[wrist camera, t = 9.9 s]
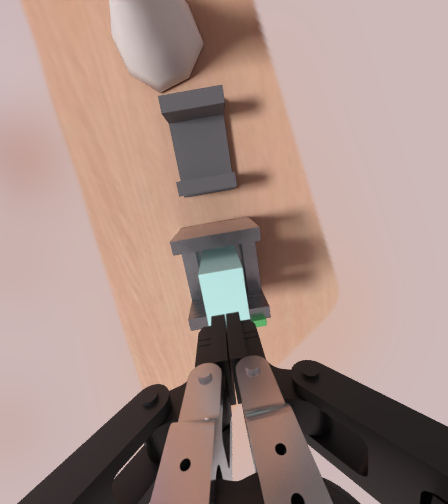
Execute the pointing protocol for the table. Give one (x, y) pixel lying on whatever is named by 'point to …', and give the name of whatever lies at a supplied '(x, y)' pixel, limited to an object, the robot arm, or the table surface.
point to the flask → (156, 40)
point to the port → (217, 236)
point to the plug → (223, 283)
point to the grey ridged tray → (199, 140)
